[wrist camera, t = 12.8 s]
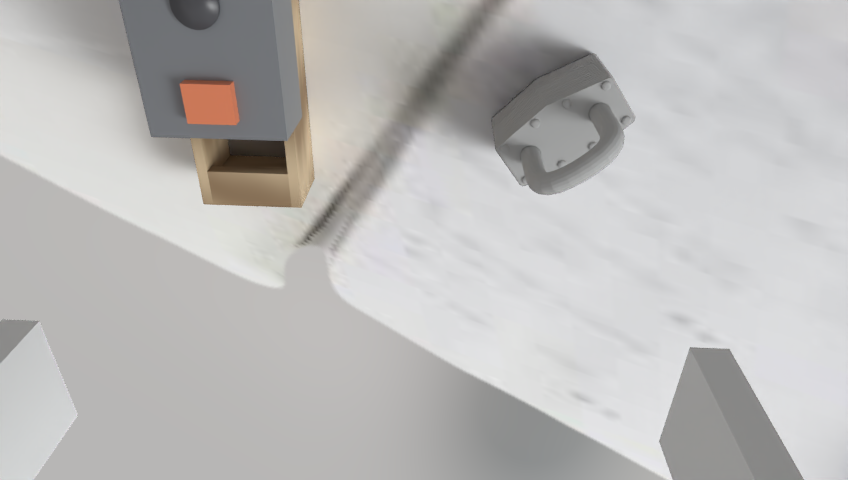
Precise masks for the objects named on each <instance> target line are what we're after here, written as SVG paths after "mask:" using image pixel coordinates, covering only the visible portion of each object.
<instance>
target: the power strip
mask: <svg viewBox="0 0 848 480" xmlns="http://www.w3.org/2000/svg"><path fill="white" fill-rule="evenodd" d="M119 3H120V7H121V11H122V16H123V20H124V24H125V28H126V33H127V37H128V41H129V45H130V49H131V54H132V58H133V62H134V66H135V70H136V75H137V79H138V83H139V87H140V91H141V96H142V100H143V104H144V108H145V113H146V117H147V121H148V125H149V129H150V134H151V137H171V138H204V139H237V140H270V141H288V139H289V138H290V136H291V134H292V133H293V131H294V129H295V128H296V126H297V125H298V123H299V121H300V120H301V118H302V109H301V98H300V88H299V77H298V67H297V57H296V46H295V36H294V25H293V15H292V4H291V0H119Z"/></svg>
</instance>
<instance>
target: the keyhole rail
mask: <svg viewBox="0 0 848 480" xmlns="http://www.w3.org/2000/svg"><path fill="white" fill-rule="evenodd" d="M291 4H292V15H293V25H294V36H295V46H296V57H297V67H298V77H299V88H300V98H301V109H302V118H301V120H300V121H299V123H298V125H297V126H296V128H295V129H294V131H293V133H292V134H291V136H290V138H289V139H288V141H284V145H285V153H286V157H271V156H240V155H230V150H229V144H228V139H204V138H191V143H192V148H193V153H194V158H195V163H196V168H197V173H198V178H199V183H200V188H201V193H202V198H203V203H204V204H212V205H241V206H270V207H299V208H301V207H302V205H303V203H304V201H305V199H306V196H307V194H308V192H309V190H310V187H311V185H312V183H313V181H314V168H313V157H312V145H311V134H310V123H309V111H308V100H307V89H306V77H305V66H304V55H303V43H302V32H301V21H300V9H299V0H291Z"/></svg>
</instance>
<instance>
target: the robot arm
mask: <svg viewBox="0 0 848 480" xmlns="http://www.w3.org/2000/svg"><path fill="white" fill-rule="evenodd" d="M77 416H78V414H77V412H76V409H75V407H74V405H73V402H72V400H71V397H70V395H69V392H68V390H67V387H66V385H65V383H64V380H63V378H62V375H61V373H60V370H59V368H58V366H57V363H56V361H55V358H54V356H53V353H52V351H51V349H50V346H49V344H48V341H47V339H46V336H45V334H44V331H43V329H42V326H41V324H40V322H39V321H26V320H2V321H1V322H0V480H34V478H35V477H36V475H37V474H38V473H39V471H40V470H41V468H42V467H43V465H44V464H45V462H46V461H47V460H48V458H49V457H50V455H51V454H52V452H53V451H54V449H55V448H56V446H57V445H58V444H59V442H60V441H61V439H62V438H63V436H64V435H65V433H66V432H67V430H68V429H69V428H70V426H71V425H72V423H73V422H74V420H75V419H76V417H77ZM659 442H660V445H661V448H662V451H663V453H664V456H665V459H666V462H667V465H668V467H669V470H670V473H671V476H672V479H673V480H804V479H803V477H802V475H801V474H800V472H799V470H798V468H797V467H796V465H795V463H794V461H793V460H792V458H791V456H790V454H789V453H788V451H787V449H786V447H785V446H784V444H783V442H782V440H781V439H780V437H779V435H778V433H777V432H776V430H775V428H774V426H773V425H772V423H771V421H770V419H769V418H768V416H767V414H766V412H765V411H764V409H763V407H762V405H761V404H760V402H759V400H758V398H757V397H756V395H755V393H754V391H753V390H752V388H751V386H750V384H749V383H748V381H747V379H746V377H745V376H744V374H743V372H742V370H741V369H740V367H739V365H738V363H737V362H736V360H735V358H734V356H733V355H732V353H731V351H730V349H716V348H692V347H690V349H689V352H688V355H687V358H686V361H685V364H684V367H683V370H682V373H681V377H680V380H679V383H678V386H677V389H676V392H675V395H674V398H673V401H672V404H671V407H670V410H669V413H668V416H667V419H666V422H665V425H664V428H663V431H662V435H661V438H660V441H659Z"/></svg>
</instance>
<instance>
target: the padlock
mask: <svg viewBox="0 0 848 480" xmlns="http://www.w3.org/2000/svg"><path fill="white" fill-rule="evenodd" d="M634 120H635V115H634V114H633V112H632V110H631V108H630V106H629V105H628V103H627V101H626V99H625V98H624V96H623V94H622V92H621V91H620V89H619V87H618V85H617V83H616V82H615V80H614V78H613V77H612V75H611V74H610V73H609V71H608V70H607V69H606V67H605V66H604V65H603V63H602V62H601V61H600V59H599V58H598V57H597V55H596V54H594V53H592V54H590V55H588V56H586V57H583V58H581V59H579V60H577V61H575V62H573V63H570V64H568V65H566V66H564V67H562V68H559V69H557V70H555V71H553V72H551V73H549V74H546V75H544V76H542V77H540V78H538V79H536V80H535V81H533V82H532V83H531V84H530V85H529V86H528V87H527V88H526V89H524V90H523V91H522V92H521V93H520V94H519V95H518V96H517V97H515V98H514V99H513V100H512V101H511V102H510V103H509V104H508V105H507V106H505V107H504V108H503V109H502V110H501V111H500V112H499V113H498V114H496V115H495V116H494V117H493V118H492V120H491V121H492V128H493V135H494V142H495V149H496V151H497V153H498V154H499V156H500V157H501V158H502V160H503V161H504V163H505V164H506V166H507V167H508V168H509V170H510V171H511V173H512V174H513V176H514V177H515V178H516V180H517V181H518V183H519V184H520V185H521V186H526V185H529V187H530V188H531V189H532V190H533V191H534V192H536V193H538V194H543V195H552V194H557V193H561V192H563V191H566V190H568V189H571V188H573V187H575V186H577V185H579V184H581V183H583V182H585V181H586V180H588V179H590V178H591V177H593V176H594V175H596V174H597V173H599V172H600V171H601V170H603V169H604V168H606V167H607V166H608V165H609V164H610V163H611V162H612V161H613V160H614V159H615V158H616V157H617V156H618V155H619V153H620V151H621V149H622V147H623V144H624V132H623V130H624V129H625V128H626V127H628V126H629V125H630V124H631V123H633V122H634Z"/></svg>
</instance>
